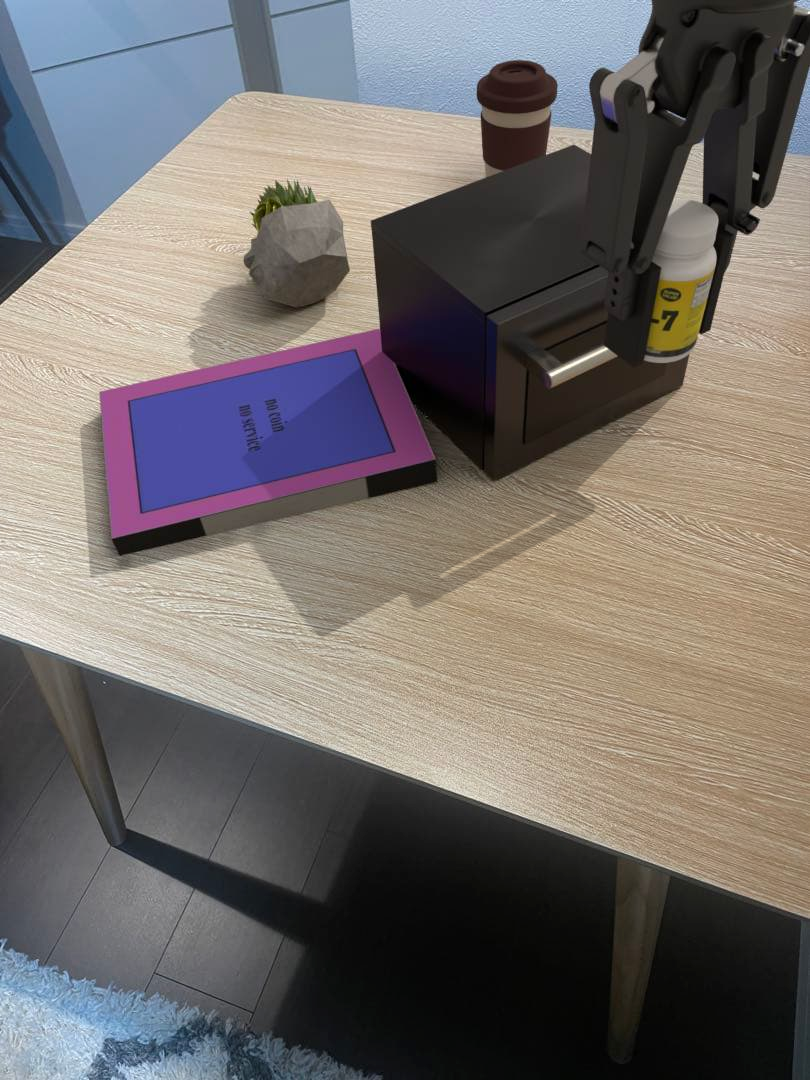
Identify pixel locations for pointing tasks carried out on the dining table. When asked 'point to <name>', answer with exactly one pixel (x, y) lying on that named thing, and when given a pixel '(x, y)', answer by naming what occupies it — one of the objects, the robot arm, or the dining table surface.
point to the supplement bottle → (682, 280)
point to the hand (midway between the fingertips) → (657, 337)
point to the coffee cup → (515, 114)
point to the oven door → (559, 374)
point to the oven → (473, 278)
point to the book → (258, 441)
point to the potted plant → (296, 247)
